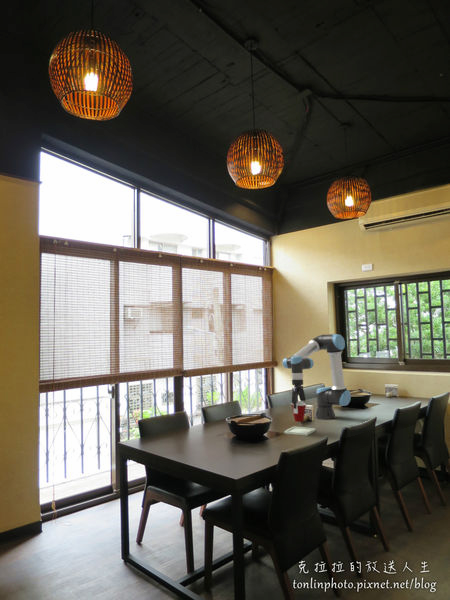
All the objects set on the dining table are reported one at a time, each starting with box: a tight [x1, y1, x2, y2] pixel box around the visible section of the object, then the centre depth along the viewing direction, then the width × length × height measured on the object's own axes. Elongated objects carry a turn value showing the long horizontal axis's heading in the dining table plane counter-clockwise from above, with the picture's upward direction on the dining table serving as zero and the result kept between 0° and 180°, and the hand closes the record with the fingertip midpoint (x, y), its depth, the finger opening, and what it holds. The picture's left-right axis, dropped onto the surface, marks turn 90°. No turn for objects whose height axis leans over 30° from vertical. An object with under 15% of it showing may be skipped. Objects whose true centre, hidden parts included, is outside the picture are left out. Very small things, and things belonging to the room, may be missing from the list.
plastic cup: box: [290, 401, 307, 423], centre depth 287 cm, size 11×11×12 cm
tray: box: [283, 426, 317, 437], centre depth 286 cm, size 16×16×1 cm
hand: (299, 411), depth 287 cm, fingers closed on plastic cup, 11 cm apart
